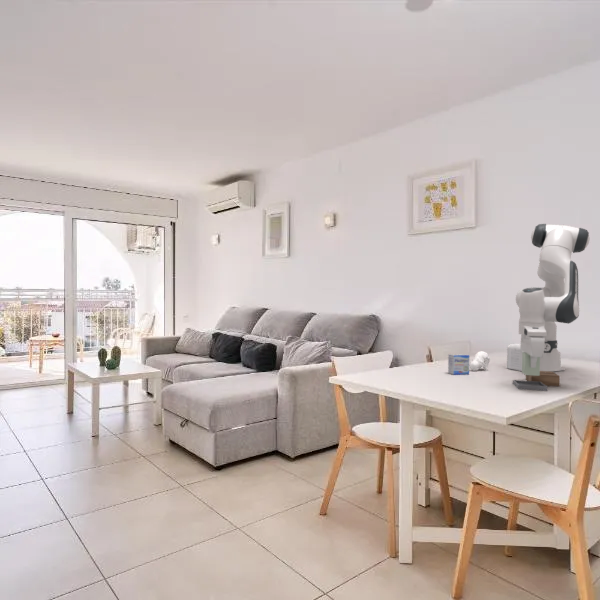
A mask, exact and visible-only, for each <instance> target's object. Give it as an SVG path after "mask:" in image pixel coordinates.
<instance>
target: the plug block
mask: <svg viewBox="0 0 600 600" xmlns="http://www.w3.org/2000/svg"><path fill="white" fill-rule="evenodd" d="M530 362H531V358H530V355H528V354H527V353H525V352H522V371H521V373H522V375H525V376H526V375H534V376H540V357H537V362H536V367H535V368H532V367H530Z"/></svg>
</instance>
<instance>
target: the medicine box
mask: <svg viewBox="0 0 600 600" xmlns="http://www.w3.org/2000/svg"><path fill="white" fill-rule="evenodd" d="M447 356H448V357H447V358H448V359H447V360H448V361H447V362H448V364H447V365H448V366H447V373H448V374H449V375H452V376H460V375H461V376H465V375H467V376H468V375H470V366H469V365H470V354H466V353H459V354H456V353H455V354H454V353H452V354H451V353H450V354H448V355H447Z"/></svg>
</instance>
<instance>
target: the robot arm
mask: <svg viewBox="0 0 600 600" xmlns="http://www.w3.org/2000/svg"><path fill="white" fill-rule="evenodd" d="M530 236H531V237H530V240H531V244H532V245H533V246H534V247H536V248H539V249H540V248H541V250H540V254H539V259H538V261H539V263H538V266H537V267H538V268H537V276H538V278H539V279H540V280H541V281H543V282H545V285H544V287H534V286H531V287H526V288H521V289H519V290H518V292H517V293H516V295H515V303H516V305H517V307H518V312H519V320H518V335H520V344H521V345H520V348H521V351H522V352H525V353H527V354H528V355H530V358H531V362H530V367H532V368H535V367H536V362H537V357H540V371H549V372H560V371H565V367H563V366H562V356H561V352H560V351H559V350H558V349H557V348H558V340H557V324H556V323H562V324H571V323H573V322H575V321H576V320H577V319H578V318H579V316H580V301H579V269H578V266H577V264H576V262H575V261H573V260H572V254H575V253H582V252H583V251H585V249H586V248H587V247H588V245H589V243H590V232H589V231H588V230H587V229H585V228H582V227H576V226H572V225H565V224H563V225H561V224H547V223H539V224H537V225H536V226H535V227H534V228H533V229H532V232H531V235H530Z"/></svg>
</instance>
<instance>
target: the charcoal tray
mask: <svg viewBox="0 0 600 600" xmlns="http://www.w3.org/2000/svg"><path fill="white" fill-rule="evenodd" d="M512 385H513V386H514V387H515V388H517V390H526V389H527V390H529V391H530V390H531V391H544V392H545V391H547V392H548V387H549V386H548V385H544V384H543V383H542V382H537V381H526V380H517V379H515V380H514V379H513V380H512Z"/></svg>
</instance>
